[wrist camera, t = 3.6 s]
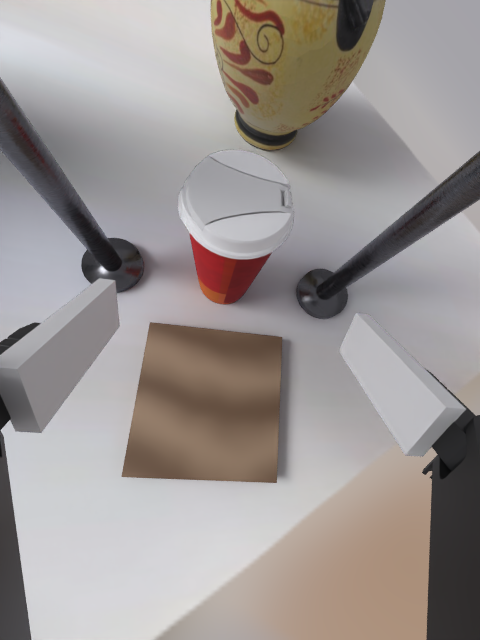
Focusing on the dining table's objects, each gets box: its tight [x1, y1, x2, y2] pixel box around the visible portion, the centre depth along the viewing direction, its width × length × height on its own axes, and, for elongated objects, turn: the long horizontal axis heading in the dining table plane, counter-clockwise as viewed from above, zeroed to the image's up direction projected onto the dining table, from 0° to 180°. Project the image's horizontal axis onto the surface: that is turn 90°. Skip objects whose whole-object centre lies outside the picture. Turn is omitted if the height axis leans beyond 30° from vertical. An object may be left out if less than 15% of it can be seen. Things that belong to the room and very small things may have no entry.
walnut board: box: [122, 322, 282, 483], centre depth 25 cm, size 14×14×1 cm
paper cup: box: [178, 149, 294, 304], centre depth 22 cm, size 8×8×14 cm
